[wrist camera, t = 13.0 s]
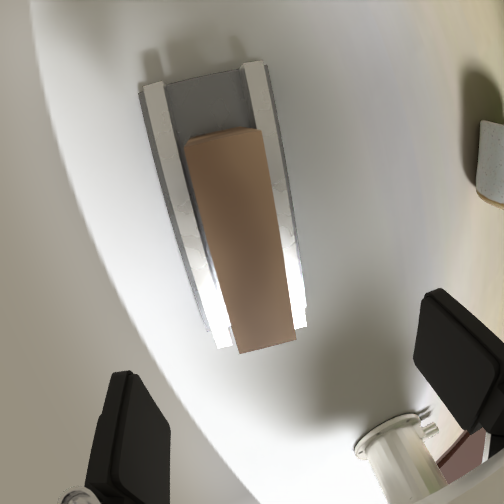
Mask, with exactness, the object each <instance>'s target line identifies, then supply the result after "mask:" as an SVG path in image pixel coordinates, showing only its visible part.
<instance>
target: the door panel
mask: <svg viewBox="0 0 504 504" xmlns="http://www.w3.org/2000/svg"><path fill="white" fill-rule="evenodd" d="M184 151H185V155H186V160H187V164H188V168H189V172H190V176H191V180H192V184H193V188H194V192H195V196H196V200H197V204H198V208H199V212H200V216H201V219H202V223H203V227H204V231H205V235H206V238H207V242H208V246H209V250H210V253H211V257H212V261H213V264H214V268H215V271H216V275H217V279H218V282H219V286H220V289H221V293H222V296H223V300H224V303H225V307H226V310H227V313H228V317H229V320H230V324H231V327H232V330H233V334H234V337H235V340H236V344H237V347H238V350H239V354H242V353H246V352H250V351H254V350H258V349H262V348H266V347H270V346H274V345H278V344H282V343H285V342H289V341H293V340H296V333H295V326H294V319H293V313H292V306H291V299H290V293H289V286H288V280H287V274H286V267H285V261H284V255H283V249H282V243H281V237H280V231H279V225H278V219H277V213H276V207H275V202H274V196H273V190H272V185H271V179H270V174H269V168H268V163H267V157H266V152H265V147H264V141H263V136H262V131H261V130H257V129H252V128H246V127H241V126H240V127H235V128H230V129H225V130H221V131H216V132H212V133H207V134H203V135H199V136H195V137H191V138H190V139H189V140H188V142H187V143H186V145H185V146H184Z"/></svg>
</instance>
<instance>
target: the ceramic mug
mask: <svg viewBox="0 0 504 504" xmlns="http://www.w3.org/2000/svg"><path fill="white" fill-rule="evenodd" d="M476 191H477V194H478V195H479V197H480V198H481V199H482V200H484V201H485V202H487V203H489V204H491V205H493V206H495V207H498V208H500V209H503V210H504V125H502V124H497V123H494V122H489V121H485V120H482V121H481V122H480V140H479V155H478V166H477V174H476Z"/></svg>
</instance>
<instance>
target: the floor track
mask: <svg viewBox="0 0 504 504" xmlns="http://www.w3.org/2000/svg"><path fill="white" fill-rule="evenodd" d="M143 89H144V92H141V93H138V95H139V99H140V104H141V108H142V112H143V117H144V121H145V125H146V129H147V134H148V138H149V142H150V146H151V150H152V154H153V158H154V162H155V165H156V169H157V173H158V177H159V180H160V184H161V188H162V191H163V195H164V199H165V202H166V206H167V209H168V213H169V216H170V219H171V223H172V226H173V230H174V233H175V236H176V239H177V243H178V246H179V249H180V252H181V256H182V259H183V262H184V265H185V268H186V271H187V274H188V277H189V281H190V284H191V287H192V290H193V293H194V296H195V298H196V301H197V304H198V307H199V310H200V313H201V316H202V319H203V322H204V324H205V327H206V330H207V332H208V331H212V333H213V336H214V339H215V342H216V344H217V347H218V348H222V347H226V346H230V345H232V340H231V334H230V328H229V327H230V326H231V324H230V320H229V317H228V313H227V310H226V307H225V303H224V300H223V296H222V293H221V289H220V286H219V282H218V279H217V275H216V271H215V268H214V264H213V261H212V257H211V253H210V250H209V246H208V242H207V238H206V235H205V231H204V227H203V223H202V219H201V216H200V212H199V208H198V204H197V200H196V196H195V192H194V188H193V184H192V180H191V176H190V172H189V168H188V164H187V160H186V155H185V151H184V146H185V145H186V143H187V142H188V140H189V139H190V138H191V137H195V136H199V135H203V134H207V133H212V132H216V131H221V130H225V129H230V128H235V127H240V126H241V127H246V128H252V129H257V130H261V131H262V136H263V141H264V147H265V152H266V157H267V163H268V168H269V174H270V179H271V185H272V190H273V196H274V202H275V207H276V213H277V219H278V225H279V231H280V237H281V243H282V249H283V255H284V261H285V267H286V274H287V280H288V286H289V293H290V299H291V306H292V313H293V319H294V326H295V329H297V328H301V327H304V326H306V319H305V311H304V307H307V306H306V297H305V289H304V281H303V274H302V266H301V259H300V251H299V244H298V237H297V230H296V224H295V217H294V210H293V204H292V197H291V191H290V185H289V179H288V173H287V167H286V161H285V155H284V150H283V144H282V138H281V133H280V127H279V122H278V117H277V112H276V106H275V101H274V96H273V91H272V86H271V81H270V76H269V71H268V67H267V65H264V64H263V60H260V61H253V62H246V63H243V64H242V65H241V67H240V68H239V69H236V70H231V71H225V72H220V73H215V74H210V75H206V76H201V77H197V78H192V79H188V80H184V81H180V82H176V83H172V84H168V85H166V84H165V83H164V82H163V81H159V82H156V83H152V84H149V85H145V86H143Z"/></svg>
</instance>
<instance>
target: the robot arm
mask: <svg viewBox="0 0 504 504" xmlns="http://www.w3.org/2000/svg"><path fill="white" fill-rule="evenodd" d="M413 360H414V363H415V365H416V367H417V368H418V369H419V371H420V372H421V373H422V375H423V376H424V377H425V379H426V380H427V381H428V383H429V384H430V385H431V387H432V388H433V389H434V391H435V392H436V393H437V395H438V396H439V397H440V399H441V400H442V401H443V403H444V404H445V406H446V407H447V408H448V410H449V411H450V413H451V414H452V415H453V417H454V418H455V420H456V421H457V422H458V424H459V425H460V427H461V428H462V429H463V430H467V431H468V432H469V433H470V435H472V434H473V433H475V432H476V431H478V430H479V429H481V428H482V427H483V428H484V429H485V430H486V440H485V447H484V455H483V461H482V464H481V465H480V466H478V467H476V468H475V469H473V470H472V471H470V472H469V473H467V474H466V475H464V476H463V477H461V478H459V479H458V480H456V481H454V482H453V483H451V484H449V485H448V484H447V482H446V480H445V478H444V477H443V475H442V473H441V471H440V470H439V468H438V466H437V464H436V463H435V461H434V459H433V458H432V456H431V454H430V453H429V451H428V449H427V447H426V446H425V444H424V442H425V440H426V439H428V438H431V437H433V436H435V435H436V434H438V433H439V429H438V427H437V426H436V424H435V423H434V422H432V423H430V424H428V425H427V426H425V427H420V425H421V420H420V418H419V417H418V415H416V414H405V415H401V416H398V417H395V418H393V419H391V420H388V421H386V422H385V423H383V424H381V425H379V426H378V427H376V428H375V429H373V430H372V431H370V432H369V433H368V434H367V435H365V436H364V437H363V438H362V439H361V440H360V441H359V443H358V444H357V446H356V447H355V455H356V457H357V458H358V459H361V460H368V461H369V463H370V465H371V468H372V470H373V472H374V474H375V476H376V478H377V481H378V483H379V485H380V487H381V489H382V492H383V494H384V496H385V498H386V500H387V503H388V504H504V343H503V342H502V341H501V340H500V339H499V338H498V337H497V336H496V335H495V334H494V333H493V332H492V331H490V330H489V329H488V328H487V327H486V326H485V325H484V324H483V323H482V322H481V321H479V320H478V319H477V318H476V317H475V316H474V315H473V314H472V313H470V312H469V311H468V310H467V309H466V308H465V307H464V306H462V305H461V304H460V303H459V302H458V301H457V300H455V299H454V298H453V297H452V296H451V295H450V294H448V293H447V292H446V291H445V290H444V289H442V288H438V289H436V290H433V291H430V292H428V293H426V294H425V296H424V299H422V301H421V307H420V315H419V323H418V330H417V337H416V343H415V349H414V355H413ZM170 436H171V430H170V426H169V423H168V422H167V420H166V419H165V417H164V416H163V414H162V413H161V411H160V409H159V408H158V407H157V405H156V403H155V402H154V400H153V399H152V397H151V396H150V394H149V392H148V390H147V389H146V387H145V386H144V384H143V382H142V380H141V379H140V377H139V376H138V375H137V374H133V373H132V372H131V371H130V370H129V371H121V372H115V373H113V374H112V376H111V379H110V383H109V387H108V391H107V395H106V398H105V403H104V406H103V411H102V414H101V415H100V416H99V419H98V422H97V427H96V431H95V435H94V440H93V445H92V449H91V454H90V459H89V464H88V469H87V475H86V480H85V486H84V487H82V486H74V487H71V488H68V489H66V490H65V491H64V492H63V493H62V494H61V496H60V498H59V499H58V502H57V504H170V438H171V437H170Z"/></svg>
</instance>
